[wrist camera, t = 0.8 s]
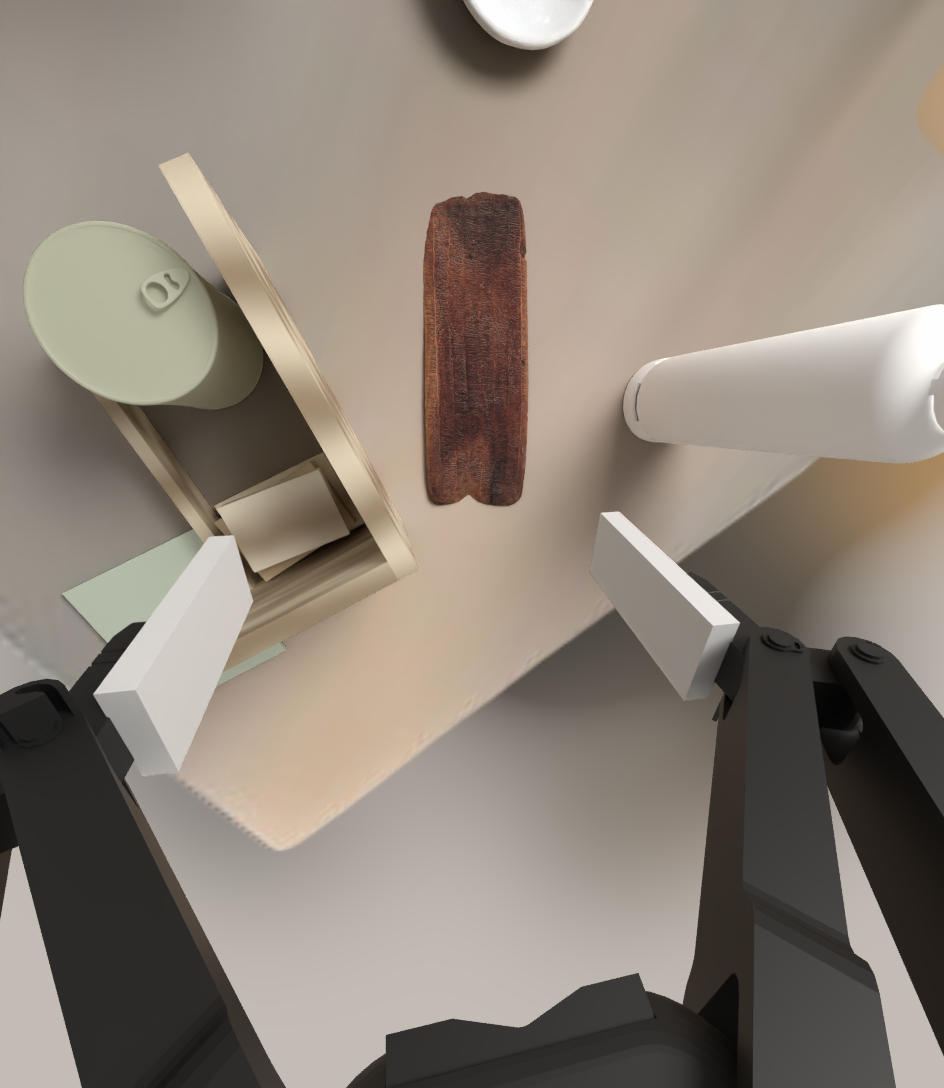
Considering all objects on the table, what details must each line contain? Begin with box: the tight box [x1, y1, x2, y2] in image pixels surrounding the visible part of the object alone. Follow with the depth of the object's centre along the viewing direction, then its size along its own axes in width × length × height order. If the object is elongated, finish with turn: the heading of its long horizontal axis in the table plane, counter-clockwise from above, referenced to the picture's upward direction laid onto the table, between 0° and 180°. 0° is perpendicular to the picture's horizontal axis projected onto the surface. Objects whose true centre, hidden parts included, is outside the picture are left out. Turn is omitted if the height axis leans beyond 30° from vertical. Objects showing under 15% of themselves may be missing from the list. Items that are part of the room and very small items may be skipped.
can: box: [23, 221, 263, 410], centre depth 29 cm, size 9×9×12 cm
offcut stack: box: [214, 452, 364, 581], centre depth 36 cm, size 7×10×6 cm
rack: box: [92, 153, 418, 672], centre depth 30 cm, size 24×15×14 cm, turn 25°
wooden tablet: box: [423, 192, 528, 505], centre depth 39 cm, size 26×2×10 cm
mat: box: [62, 529, 286, 687], centre depth 39 cm, size 14×12×1 cm
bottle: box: [623, 305, 944, 463], centre depth 31 cm, size 8×8×28 cm
